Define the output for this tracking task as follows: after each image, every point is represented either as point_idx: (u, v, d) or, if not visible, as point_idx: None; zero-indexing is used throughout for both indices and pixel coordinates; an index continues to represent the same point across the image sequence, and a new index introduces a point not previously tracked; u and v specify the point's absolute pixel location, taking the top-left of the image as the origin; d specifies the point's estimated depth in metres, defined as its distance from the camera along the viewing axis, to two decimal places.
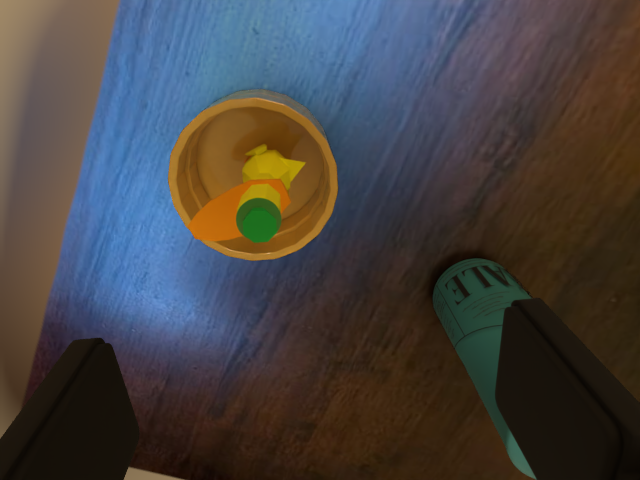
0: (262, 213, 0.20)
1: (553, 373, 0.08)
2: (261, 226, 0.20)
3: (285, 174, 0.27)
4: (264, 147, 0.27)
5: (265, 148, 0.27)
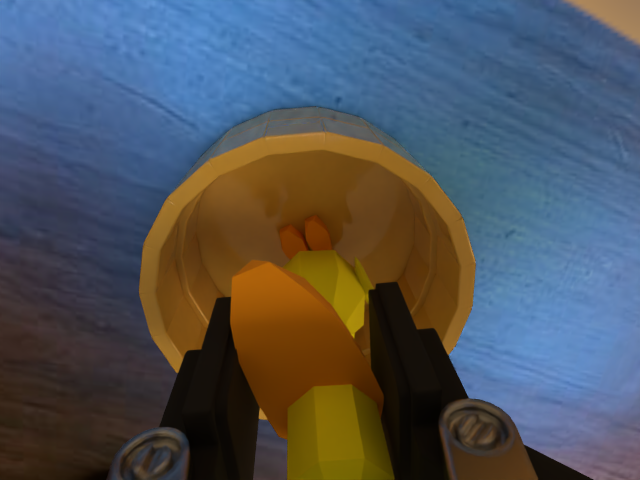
0: None
1: (383, 345, 0.09)
2: None
3: None
4: None
5: None
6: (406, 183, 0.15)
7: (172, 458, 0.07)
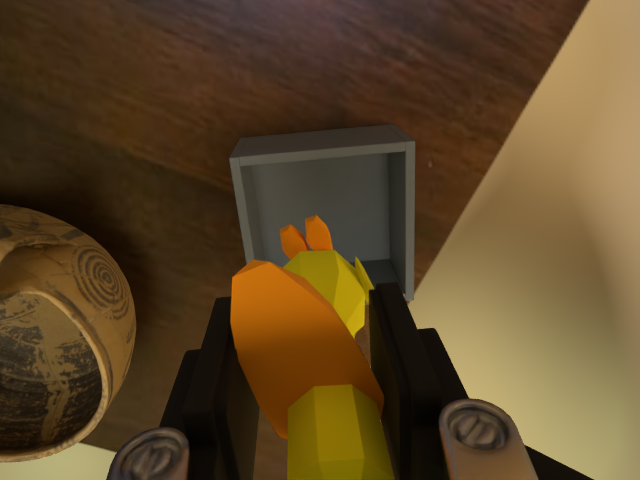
0: None
1: (384, 345, 0.09)
2: None
3: None
4: None
5: None
6: None
7: (172, 458, 0.07)
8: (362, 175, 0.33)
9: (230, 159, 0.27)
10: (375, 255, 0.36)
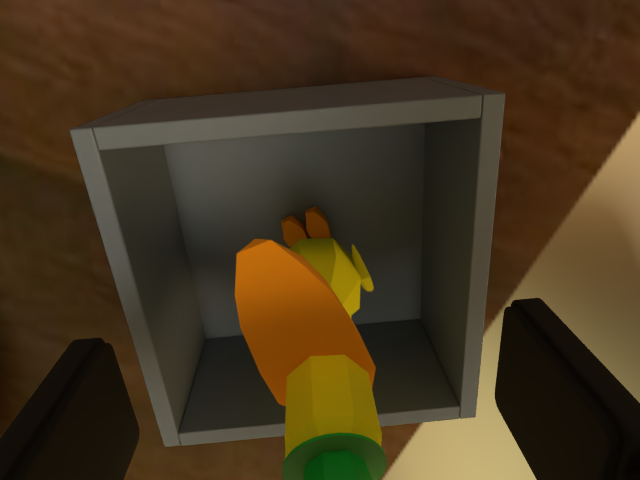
0: None
1: (553, 373, 0.08)
2: None
3: None
4: (371, 288, 0.15)
5: (369, 290, 0.15)
6: None
7: None
8: (375, 174, 0.18)
9: (73, 133, 0.11)
10: (395, 313, 0.21)
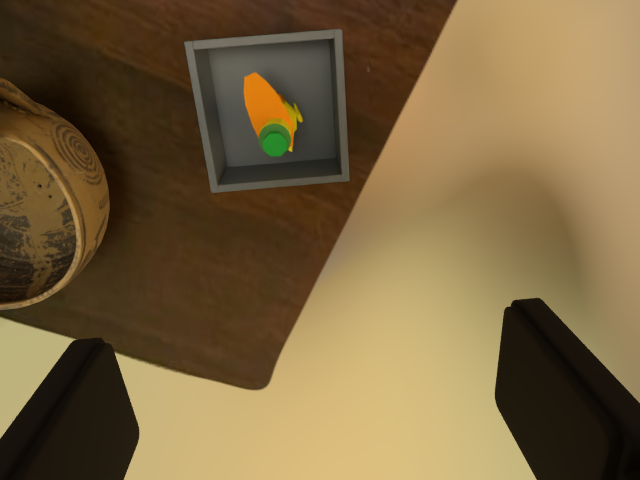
0: (285, 147, 0.28)
1: (553, 373, 0.08)
2: (275, 146, 0.28)
3: None
4: (302, 120, 0.36)
5: (301, 121, 0.36)
6: None
7: None
8: (308, 77, 0.38)
9: (185, 43, 0.31)
10: (323, 154, 0.41)
